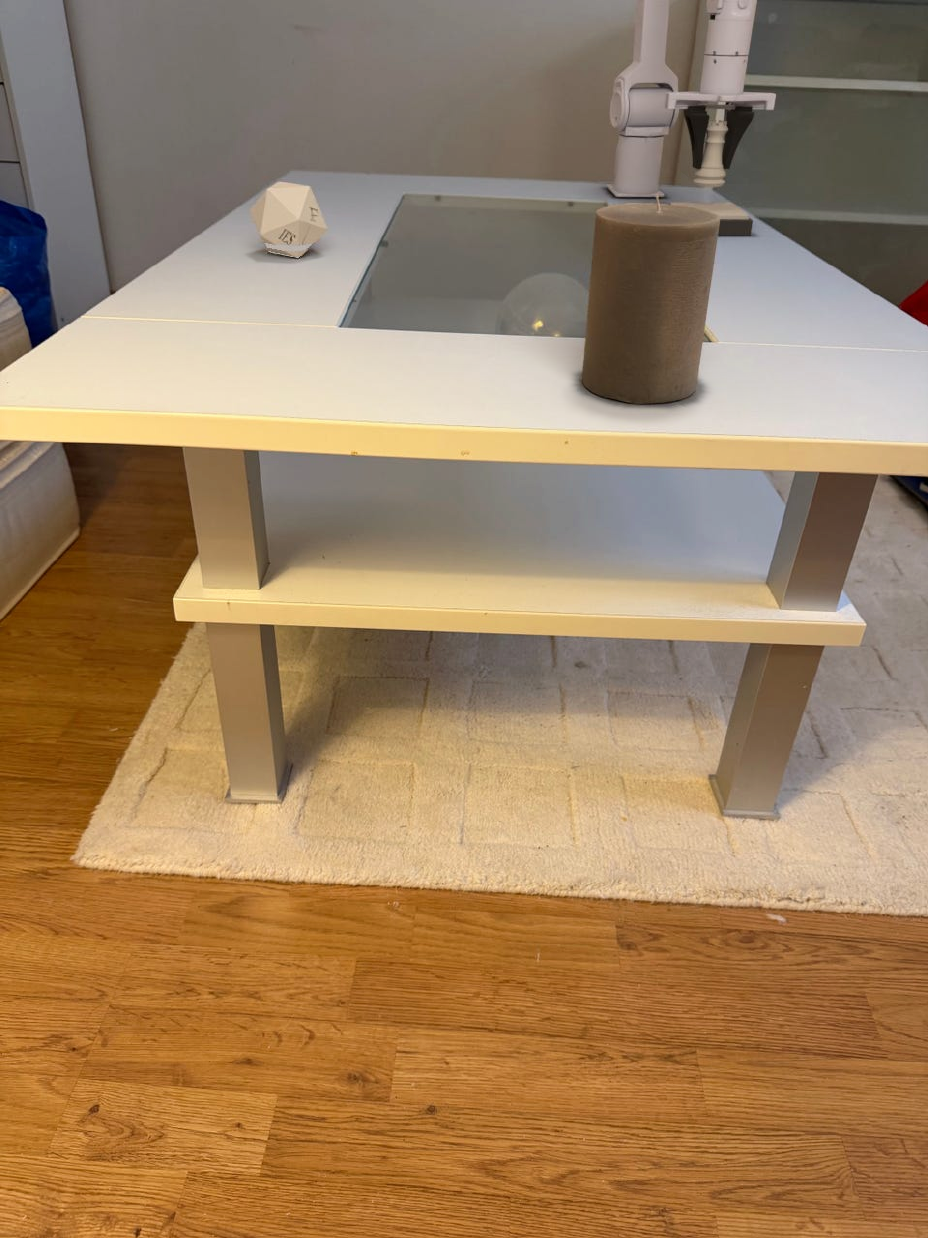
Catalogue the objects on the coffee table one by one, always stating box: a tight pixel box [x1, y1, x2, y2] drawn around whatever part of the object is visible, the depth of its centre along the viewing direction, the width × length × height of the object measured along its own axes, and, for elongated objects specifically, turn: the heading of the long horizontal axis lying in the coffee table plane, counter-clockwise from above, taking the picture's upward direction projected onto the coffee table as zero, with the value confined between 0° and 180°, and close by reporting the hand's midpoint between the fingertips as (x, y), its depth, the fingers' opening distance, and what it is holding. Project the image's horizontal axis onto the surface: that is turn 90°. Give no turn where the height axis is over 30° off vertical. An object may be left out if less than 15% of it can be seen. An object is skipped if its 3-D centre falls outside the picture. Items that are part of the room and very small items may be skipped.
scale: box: [669, 202, 754, 237], centre depth 135 cm, size 10×10×3 cm
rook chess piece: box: [692, 119, 728, 188], centre depth 132 cm, size 4×4×8 cm
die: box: [249, 181, 329, 258], centre depth 118 cm, size 8×9×10 cm
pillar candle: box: [581, 195, 720, 405], centre depth 77 cm, size 10×10×15 cm
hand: (710, 167), depth 133 cm, fingers closed on rook chess piece, 3 cm apart
